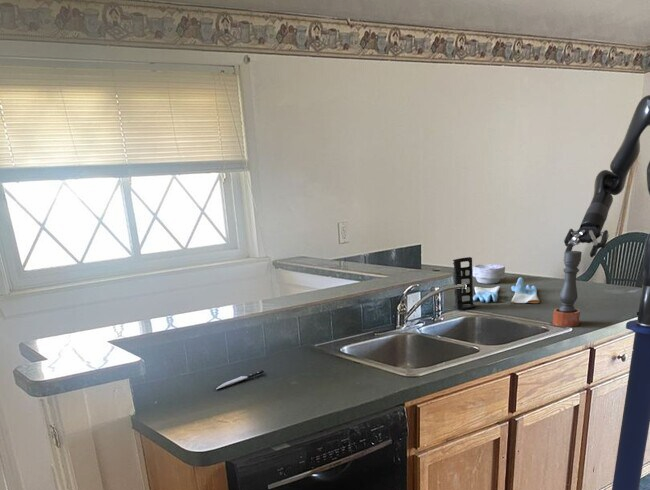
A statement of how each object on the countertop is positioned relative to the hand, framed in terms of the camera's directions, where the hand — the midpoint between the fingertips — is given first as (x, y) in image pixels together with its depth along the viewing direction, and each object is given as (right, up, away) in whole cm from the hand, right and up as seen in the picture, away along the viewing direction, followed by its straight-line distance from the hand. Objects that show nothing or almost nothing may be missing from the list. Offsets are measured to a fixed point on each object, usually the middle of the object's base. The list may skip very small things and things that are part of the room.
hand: (579, 255), depth 234 cm
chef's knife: (-117, -49, -40) cm, 133 cm away
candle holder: (-3, -23, +5) cm, 24 cm away
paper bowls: (-12, +10, +85) cm, 86 cm away
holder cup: (-3, -24, +5) cm, 25 cm away
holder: (-34, -12, +37) cm, 52 cm away
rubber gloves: (-12, -3, +54) cm, 56 cm away
